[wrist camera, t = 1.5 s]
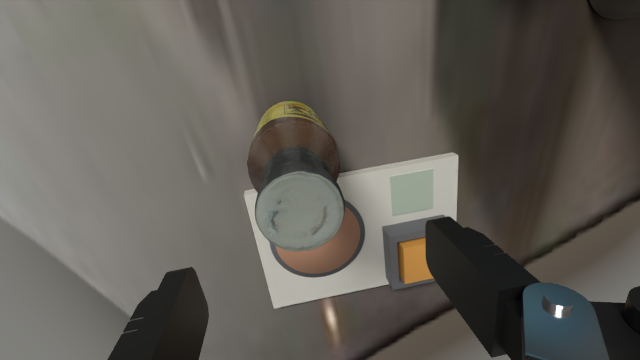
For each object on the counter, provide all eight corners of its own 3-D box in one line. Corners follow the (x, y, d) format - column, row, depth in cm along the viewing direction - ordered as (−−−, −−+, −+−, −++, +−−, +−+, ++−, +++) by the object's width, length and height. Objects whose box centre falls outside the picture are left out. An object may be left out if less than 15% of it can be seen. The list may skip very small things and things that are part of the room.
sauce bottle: (330, 134, 33) (401, 230, 14) (284, 168, 33) (294, 302, 15) (294, 83, 30) (321, 120, 12) (244, 121, 31) (199, 212, 13)
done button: (437, 230, 36) (446, 240, 34) (437, 265, 38) (445, 275, 36) (396, 239, 36) (403, 248, 34) (398, 273, 38) (404, 284, 36)
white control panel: (452, 152, 35) (471, 162, 32) (449, 264, 41) (465, 282, 38) (245, 190, 34) (241, 205, 30) (274, 301, 40) (273, 323, 36)
